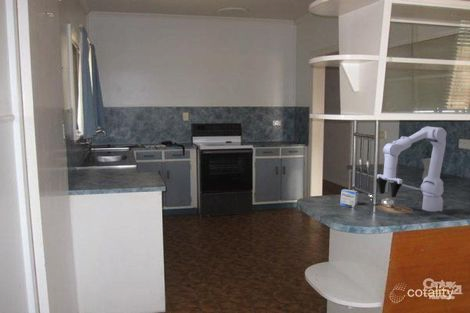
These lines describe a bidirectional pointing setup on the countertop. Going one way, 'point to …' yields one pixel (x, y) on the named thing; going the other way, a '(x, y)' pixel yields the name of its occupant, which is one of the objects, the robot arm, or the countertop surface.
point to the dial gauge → (371, 199)
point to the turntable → (395, 209)
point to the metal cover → (387, 202)
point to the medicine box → (348, 198)
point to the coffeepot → (426, 166)
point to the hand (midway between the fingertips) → (387, 195)
